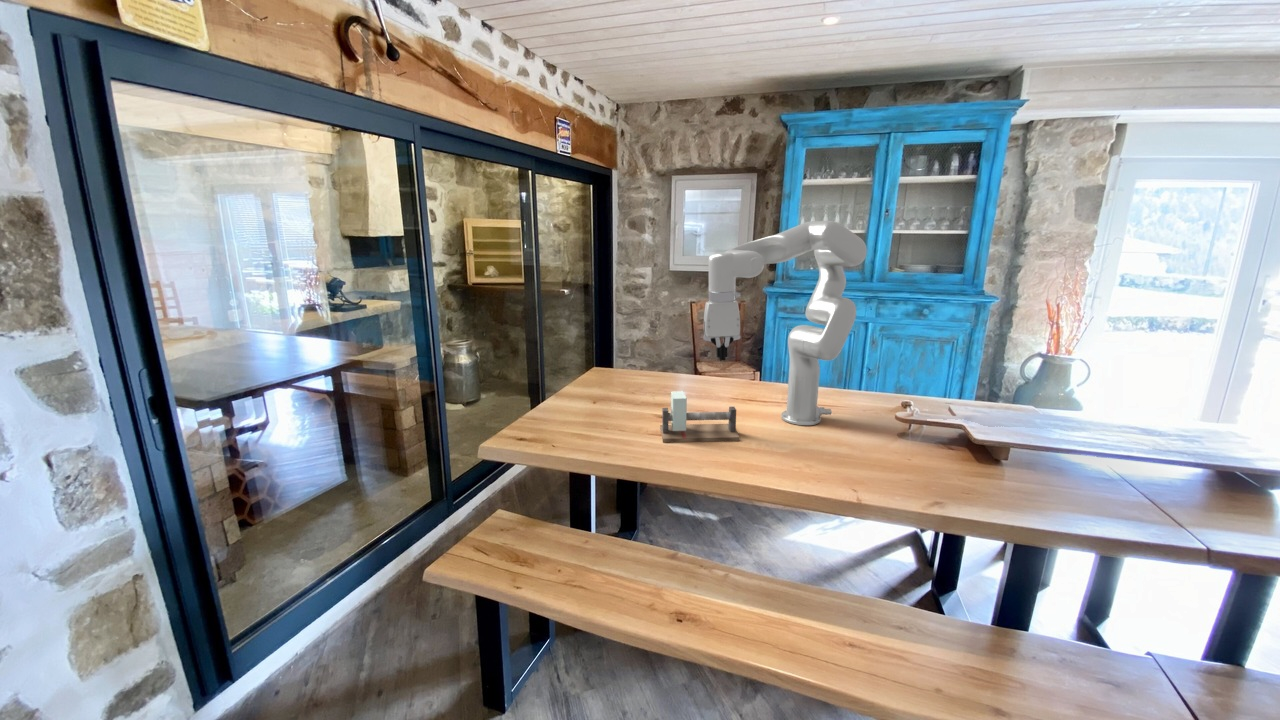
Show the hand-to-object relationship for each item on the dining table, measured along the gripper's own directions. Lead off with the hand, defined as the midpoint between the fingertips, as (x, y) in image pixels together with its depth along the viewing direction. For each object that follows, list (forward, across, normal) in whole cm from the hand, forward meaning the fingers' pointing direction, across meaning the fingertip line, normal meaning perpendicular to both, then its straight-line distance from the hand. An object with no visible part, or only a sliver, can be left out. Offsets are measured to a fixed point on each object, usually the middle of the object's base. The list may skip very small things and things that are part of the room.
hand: (721, 359), depth 147 cm
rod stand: (+24, +7, -2) cm, 25 cm away
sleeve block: (+21, +13, -2) cm, 25 cm away
